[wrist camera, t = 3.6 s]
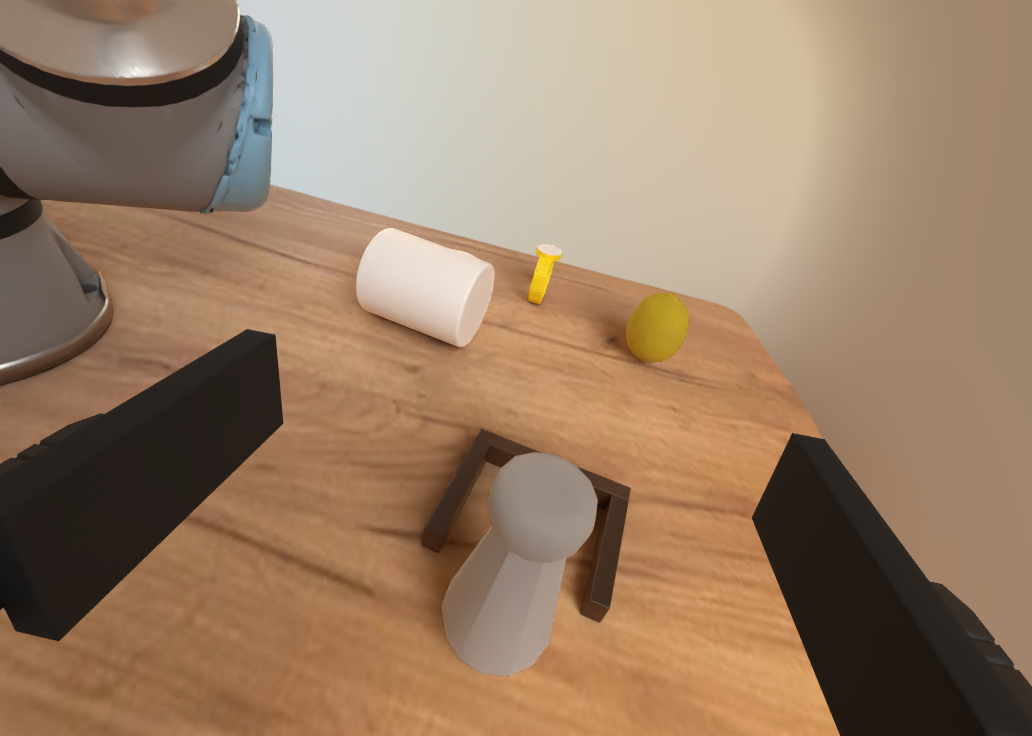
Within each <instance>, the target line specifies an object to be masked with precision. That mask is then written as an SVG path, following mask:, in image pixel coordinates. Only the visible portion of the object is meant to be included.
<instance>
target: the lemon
mask: <svg viewBox="0 0 1032 736" xmlns="http://www.w3.org/2000/svg"><path fill="white" fill-rule="evenodd" d="M688 326H689V314H688V311H687V308H686V306H685V305H684V303H683V302H682V301H681V300H680V299H679V298H677V296H676V294H674V293H668V294H666V293H658V294H654V295H651V296H649V297H647V298H645V299H644V300H643V301H642V302H641V303H640V304H639V305H638V306H637V308H636V309H635V310H634V312H633V313H632V315H631V317H630V319H629V322H628V325H627V331H626V340H627V344H628V346H629V349H630V350H631V352H632V353H633V354H634V355H635V356H636V357H638V359H639V360H640V361H641V362H661V361H664V360H666V359H668V358H670V357H672V356H673V355H674V354H675V353H676V352H677V351H678V349H679V348H680V347H681V345H682V344H683V342H684V340H685V338H686V335H687V331H688Z"/></svg>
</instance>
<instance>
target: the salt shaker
mask: <svg viewBox="0 0 1032 736" xmlns="http://www.w3.org/2000/svg"><path fill="white" fill-rule="evenodd" d="M597 502H598V499H597V497H596V494H595V491H594V489H593V486H592V483H591V481H590V480H589V479H588V478H587V477H586V476H585V475H584V474H583V473H582V472H581V471H580V470H579V469H578V467H577V466H576V465H574V464H572V463H570V462H569V461H567V460H565V459H563V458H561V457H559V456H557V455H552V454H545V453H538V452H533V453H528V454H523V455H519V456H515V457H514V458H513V459H511V460H510V461H509V462H508V463H507V464H505V465H504V466H503V467H502V468H501V469H500V471H499V472H498V474H497V476H496V478H495V480H494V483H493V486H492V489H491V491H490V494H489V498H488V504H487V506H488V511H489V516H490V520H491V525H492V526H491V527H490V528H489V530H488V531H487V533H486V534H485V535H484V537H483V538H482V539H481V541H480V542H479V543H478V545H477V546H476V548H475V549H474V550H473V552H472V553H471V554H470V556H469V557H468V559H467V560H466V561H465V563H464V564H463V565H462V567H461V568H460V569H459V571H458V572H457V574H456V575H455V576H454V578H453V579H452V580H451V582H450V585H449V587H448V590H447V592H446V595H445V597H444V600H443V602H442V613H443V622H444V630H445V636H446V638H447V640H448V642H449V644H450V645H451V647H452V649H453V651H454V652H455V654H456V656H457V658H458V659H459V660H460V661H462V662H464V663H465V664H467V665H468V666H470V667H471V668H473V669H474V670H476V671H478V672H479V673H481V674H486V675H495V676H505V677H508V676H510V675H513V674H515V673H517V672H519V671H522V670H524V669H526V668H528V667H531V666H532V665H533V664H534V663H535V662H536V660H537V659H538V658H539V656H540V655H541V654H542V652H543V651H544V650H545V648H546V647H547V646H548V645H549V643H550V639H551V634H552V629H553V624H554V619H555V614H556V608H557V603H558V598H559V593H560V588H561V583H562V578H563V573H564V568H565V562H566V558H567V557H570V556H572V555H574V554H575V553H576V552H577V550H578V549H579V548H580V547H581V546H582V545H583V544H584V542H585V541H586V540H587V539H588V537H589V536H590V534H591V533H592V531H593V528H594V524H595V519H596V511H597Z"/></svg>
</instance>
